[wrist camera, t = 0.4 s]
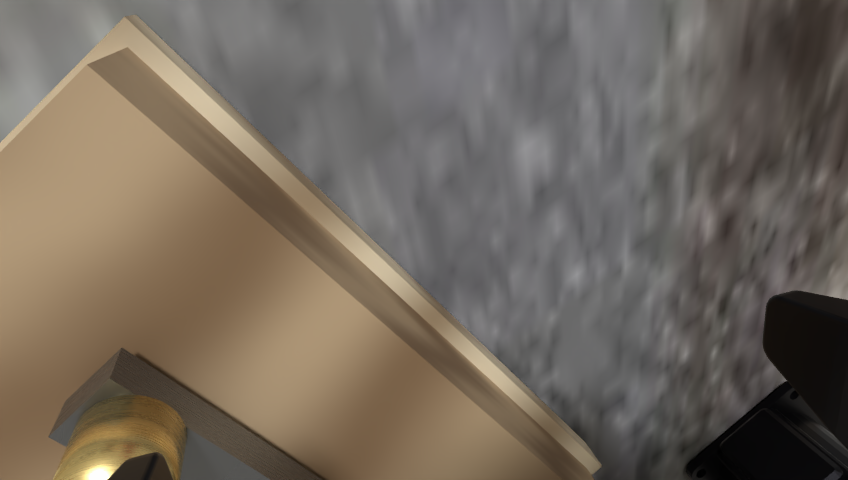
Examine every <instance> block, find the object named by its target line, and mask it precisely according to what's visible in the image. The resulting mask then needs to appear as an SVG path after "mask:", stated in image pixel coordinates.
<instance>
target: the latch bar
mask: <svg viewBox="0 0 848 480" xmlns="http://www.w3.org/2000/svg"><path fill="white" fill-rule="evenodd" d="M48 437H49V438H51V439H53V440H54V441H56V442H58V443H60V444H62V445H63V446H65V447H66V449H65V452H64V454H63V456H62V459H61V461H60V463H59V466H58V468H57V470H56V473H55V475H54V478H53V480H107V479H108V478H109V477H110V476H111V475H112V474H113V473H114V472H115V471H116V470H117V469H118V468H119V467H120V466H121V465H122V464H123V463H124V462H125V461H126V460H128V459H130V458H133V457H137V456H141V455H145V454H149V453H153V452H158V453H161V454H162V455H163V456H164V458H165V460H166V462H167V465H168V467H169V470H170V472H171V475H172V478H173V480H322V479H320V478H319V477H317V476H316V475H314V474H313V473H311V472H310V471H308V470H307V469H305V468H304V467H302V466H301V465H299V464H298V463H296V462H295V461H293V460H292V459H290V458H289V457H287V456H286V455H284V454H283V453H281V452H280V451H278V450H277V449H275V448H274V447H272V446H271V445H269V444H268V443H266V442H264V441H263V440H261V439H260V438H258V437H257V436H255V435H254V434H252V433H251V432H249V431H248V430H246V429H245V428H243V427H242V426H240V425H239V424H237V423H236V422H234V421H233V420H231V419H230V418H228V417H227V416H225V415H224V414H222V413H221V412H219V411H218V410H216V409H215V408H213V407H212V406H210V405H209V404H207V403H206V402H204V401H203V400H201V399H199V398H198V397H196V396H195V395H193V394H192V393H190V392H189V391H187V390H186V389H184V388H183V387H181V386H180V385H178V384H177V383H175V382H174V381H172V380H171V379H169V378H168V377H166V376H165V375H163V374H162V373H160V372H159V371H157V370H156V369H154V368H153V367H151V366H150V365H148V364H147V363H145V362H144V361H142V360H141V359H139V358H137V357H136V356H134V355H133V354H131V353H130V352H128V351H127V350H125V349H124V348H120V349H119V350H118V351H117V352H116V353H115V354H114V355H113V356H112V357H111V358H110V359H109V360H108V361H107V362H106V363H105V364H104V365H103V366H102V367H101V368H99V369H98V370H97V371H96V372H95V373H94V374H93V375H92V376H91V377H90V378H89V379H88V380H87V381H86V382H85V383H84V384H83V385H82V386H81V387H80V388H79V389H77V390H76V391H75V392H74V393H73V394H72V395H71V396H70V397H69V398H68V399H67V400H66V401H65V403H64V405H63V407H62V409H61V411H60V413H59V415H58V417H57V420H56V422H55V424H54V426H53V428H52V430H51V432H50V434H49V436H48Z"/></svg>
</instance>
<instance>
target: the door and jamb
mask: <svg viewBox="0 0 848 480" xmlns="http://www.w3.org/2000/svg"><path fill="white" fill-rule="evenodd" d="M120 348H124V349H125V350H127V351H128V352H130V353H131V354H133V355H134V356H136V357H137V358H139V359H141V360H142V361H144V362H145V363H147V364H148V365H150V366H151V367H153V368H154V369H156V370H157V371H159V372H160V373H162V374H163V375H165V376H166V377H168V378H169V379H171V380H172V381H174V382H175V383H177V384H178V385H180V386H181V387H183V388H184V389H186V390H187V391H189V392H190V393H192V394H193V395H195V396H196V397H198V398H199V399H201V400H203V401H204V402H206V403H207V404H209V405H210V406H212V407H213V408H215V409H216V410H218V411H219V412H221V413H222V414H224V415H225V416H227V417H228V418H230V419H231V420H233V421H234V422H236V423H237V424H239V425H240V426H242V427H243V428H245V429H246V430H248V431H249V432H251V433H252V434H254V435H255V436H257V437H258V438H260V439H261V440H263V441H264V442H266V443H268V444H269V445H271V446H272V447H274V448H275V449H277V450H278V451H280V452H281V453H283V454H284V455H286V456H287V457H289V458H290V459H292V460H293V461H295V462H296V463H298V464H299V465H301V466H302V467H304V468H305V469H307V470H308V471H310V472H311V473H313V474H314V475H316V476H317V477H319V478H320V479H322V480H595V479H594V478H593V477H592V474H594V473H595V472H596V471H597V470H598V469H599V468H601V467H602V465H601V464H600V462H599V461H598V459H597V458H596V457H595V455H594V454H593V452H592V451H591V450H590V448H589V447H588V446H587V444H586V443H585V441H584V440H582V439H581V438H580V437H579V436H578V435H577V434H576V433H575V432H574V431H573V430H572V429H571V428H570V427H569V426H568V425H567V424H566V423H565V422H564V421H562V420H561V419H560V418H559V417H558V416H557V415H556V414H555V413H554V412H553V411H552V410H551V409H550V408H549V407H548V406H547V405H546V404H545V403H544V402H542V401H541V400H540V399H539V398H538V397H537V396H536V395H535V394H534V393H533V392H532V391H531V390H530V389H529V388H528V387H527V386H526V385H525V384H524V383H523V382H521V381H520V380H519V379H518V378H517V377H516V376H515V375H514V374H513V373H512V372H511V371H510V370H509V369H508V368H507V367H506V366H505V365H504V364H503V363H501V362H500V361H499V360H498V359H497V358H496V357H495V356H494V355H493V354H492V353H491V352H490V351H489V350H488V349H487V348H486V347H485V346H484V345H483V344H482V343H480V342H479V341H478V340H477V339H476V338H475V337H474V336H473V335H472V334H471V333H470V332H469V331H468V330H467V329H466V328H465V327H464V326H463V325H462V324H460V323H459V322H458V321H457V320H456V319H455V318H454V317H453V316H452V315H451V314H450V313H449V312H448V311H447V310H446V309H445V308H444V307H443V306H442V305H441V304H439V303H438V302H437V301H436V300H435V299H434V298H433V297H432V296H431V295H430V294H429V293H428V292H427V291H426V290H425V289H424V288H423V287H422V286H421V285H419V284H418V283H417V282H416V281H415V280H414V279H413V278H412V277H411V276H410V275H409V274H408V273H407V272H406V271H405V270H404V269H403V268H402V267H401V266H400V265H398V264H397V263H396V262H395V261H394V260H393V259H392V258H391V257H390V256H389V255H388V254H387V253H386V252H385V251H384V250H383V249H382V248H381V247H380V246H378V245H377V244H376V243H375V242H374V241H373V240H372V239H371V238H370V237H369V236H368V235H367V234H366V233H365V232H364V231H363V230H362V229H361V228H360V227H359V226H357V225H356V224H355V223H354V222H353V221H352V220H351V219H350V218H349V217H348V216H347V215H346V214H345V213H344V212H343V211H342V210H341V209H340V208H339V207H337V206H336V205H335V204H334V203H333V202H332V201H331V200H330V199H329V198H328V197H327V196H326V195H325V194H324V193H323V192H322V191H321V190H320V189H319V188H317V187H316V186H315V185H314V184H313V183H312V182H311V181H310V180H309V179H308V178H307V177H306V176H305V175H304V174H303V173H302V172H301V171H300V170H299V169H298V168H296V167H295V166H294V165H293V164H292V163H291V162H290V161H289V160H288V159H287V158H286V157H285V156H284V155H283V154H282V153H281V152H280V151H279V150H278V149H276V148H275V147H274V146H273V145H272V144H271V143H270V142H269V141H268V140H267V139H266V138H265V137H264V136H263V135H262V134H261V133H260V132H259V131H258V130H257V129H255V128H254V127H253V126H252V125H251V124H250V123H249V122H248V121H247V120H246V119H245V118H244V117H243V116H242V115H241V114H240V113H239V112H238V111H237V110H235V109H234V108H233V107H232V106H231V105H230V104H229V103H228V102H227V101H226V100H225V99H224V98H223V97H222V96H221V95H220V94H219V93H218V92H217V91H216V90H214V89H213V88H212V87H211V86H210V85H209V84H208V83H207V82H206V81H205V80H204V79H203V78H202V77H201V76H200V75H199V74H198V73H197V72H196V71H194V70H193V69H192V68H191V67H190V66H189V65H188V64H187V63H186V62H185V61H184V60H183V59H182V58H181V57H180V56H179V55H178V54H177V53H176V52H175V51H173V50H172V49H171V48H170V47H169V46H168V45H167V44H166V43H165V42H164V41H163V40H162V39H161V38H160V37H159V36H158V35H157V34H156V33H155V32H153V31H152V30H151V29H150V28H149V27H148V26H147V25H146V24H145V23H144V22H143V21H142V20H141V19H140V18H139V17H138V16H137V15H131V16H126V17H124V18H123V19H122V20H121V21H120V22H119V23H118V24H117V25H116V26H115V27H114V28H113V29H112V30H111V31H110V32H109V33H108V34H107V35H106V36H105V37H104V38H103V39H102V40H101V41H100V42H99V43H98V44H97V45H96V46H95V47H94V48H93V49H92V50H91V51H90V52H89V53H88V54H87V55H86V56H85V57H84V58H83V59H82V60H81V61H80V62H79V63H78V64H77V66H76V67H75V68H74V69H73V70H72V71H71V72H70V73H69V74H68V75H67V76H66V77H65V78H64V79H63V80H62V81H61V82H60V83H59V84H58V85H57V86H56V87H55V88H54V89H53V90H52V91H51V92H50V93H49V94H48V95H47V96H46V97H45V98H44V99H43V100H42V101H41V102H40V103H39V104H38V105H37V106H36V107H35V108H34V109H33V110H32V111H31V112H30V113H29V114H28V115H27V116H26V117H25V118H24V119H23V120H22V121H21V122H20V123H19V124H18V125H17V126H16V127H15V128H14V129H13V130H12V131H11V132H10V133H9V134H8V135H7V137H6V138H5V139H4V140H3V141H2V142H1V143H0V480H53V478H54V475H55V473H56V470H57V468H58V466H59V463H60V461H61V459H62V456H63V454H64V452H65V449H66V447H65V446H63V445H62V444H60V443H58V442H56V441H54V440H53V439H51V438H49V437H48V436H49V434H50V432H51V430H52V428H53V426H54V424H55V422H56V420H57V417H58V415H59V413H60V411H61V409H62V407H63V405H64V403H65V401H66V400H67V399H68V398H69V397H70V396H71V395H72V394H73V393H74V392H75V391H76V390H77V389H79V388H80V387H81V386H82V385H83V384H84V383H85V382H86V381H87V380H88V379H89V378H90V377H91V376H92V375H93V374H94V373H95V372H96V371H97V370H98V369H99V368H101V367H102V366H103V365H104V364H105V363H106V362H107V361H108V360H109V359H110V358H111V357H112V356H113V355H114V354H115V353H116V352H117V351H118V350H119V349H120Z"/></svg>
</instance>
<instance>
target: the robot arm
mask: <svg viewBox="0 0 848 480" xmlns="http://www.w3.org/2000/svg"><path fill="white" fill-rule="evenodd" d="M763 348H764V351H765V353H766V355H767V357H768V358H769V360H770V361H771V362H772V363H773V364H774V366H775V367H776V368H777V369H778V370H779V372H780V373H781V374H782V375H783V376H784V378H785V379H786V380H787V382H786V383H784V384H783V385H782V386H781V387H779V388H778V389H777V390H776V391H775V392H773V393H772V394H771V395H770V396H769V397H768V398H766V399H765V400H764V401H763V402H762V403H760V404H759V405H758V406H757V407H756V408H755V409H753V410H752V411H751V412H750V413H749V414H747V415H746V416H745V417H744V418H743V419H741V420H740V421H739V422H738V423H737V424H736V425H734V426H733V427H732V428H731V429H730V430H728V431H727V432H726V433H725V434H724V435H722V436H721V437H720V438H719V439H718V440H717V441H715V442H714V443H713V444H712V445H711V446H709V447H708V448H707V449H706V450H705V451H704V452H702V453H701V454H700V455H699V456H698V457H696V458H695V459H694V460H693V461H692V462H691V463H690V464H689V465H688V466H687V468H686V472H687V474H688V475H689V477H690V478H691V479H692V480H848V300H845V299H839V298H834V297H829V296H824V295H819V294H814V293H808V292H803V291H790V292H786V293H782V294H779V295H775V296H773V297H771V298H770V299H769V301H768V302H767V305H766V312H765V322H764V331H763ZM107 480H173V478H172V475H171V472H170V470H169V467H168V465H167V462H166V460H165V458H164V456H163V455H162V454H161V453H158V452H153V453H149V454H145V455H141V456H137V457H133V458H130V459H128V460H126V461H125V462H124V463H123V464H122V465H121V466H120V467H119V468H118V469H117V470H116V471H115V472H114V473H113V474H112V475H111V476H110V477H109V478H108V479H107Z"/></svg>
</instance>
